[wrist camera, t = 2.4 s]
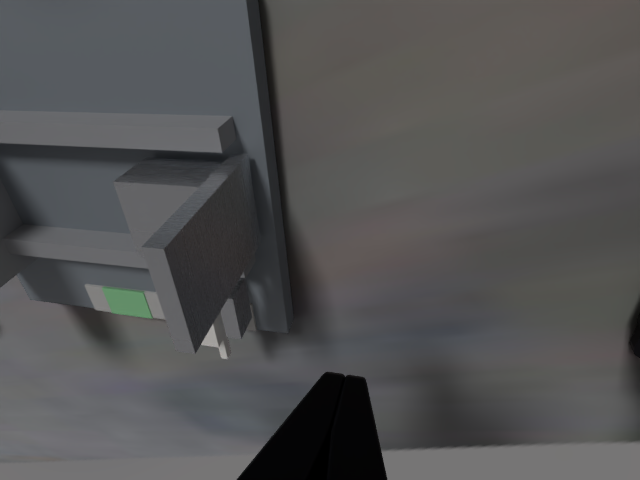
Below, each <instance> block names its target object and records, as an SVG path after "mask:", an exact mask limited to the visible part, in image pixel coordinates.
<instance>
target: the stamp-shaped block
mask: <svg viewBox="0 0 640 480" xmlns="http://www.w3.org/2000/svg"><path fill="white" fill-rule="evenodd" d="M201 345H205V346H212V347H219V351H220V355H221V358H223V359H228V358H229V356H230V354H231V349H230V344H229V340H228V337H226V333H225V329H224V324H223V320H222V316H221V312H220V313H219V314H218V316H217V318H216V320H215V321H214V323H213V325H212V326H211V328H210V330H209V332H208V333H207V335H206V337H205V338H204V340H203V342H202V343H201Z"/></svg>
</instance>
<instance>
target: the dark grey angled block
mask: <svg viewBox="0 0 640 480" xmlns="http://www.w3.org/2000/svg"><path fill="white" fill-rule="evenodd" d="M113 183H114V186H115V189H116V192H117V195H118V198H119V201H120V204H121V207H122V210H123V213H124V215H125V218H126V221H127V224H128V227H129V230H130V233H131V236H132V239H133V242H134V245H135V247H136V250H137V253H138V256H142V257H145V260H146V263H147V266H148V269H149V272H150V275H151V278H152V281H153V284H154V287H155V290H156V293H157V296H158V299H159V302H160V305H161V308H162V311H163V314H164V317H165V320H166V323H167V326H168V329H169V332H170V335H171V338H172V341H173V344H174V347H175V350H176V351H179V352H186V353H193V354H196V352H197V350H198V349H199V347H200V345H201V343H202V342H203V340H204V338H205V337H206V335H207V333H208V332H209V330H210V328H211V326H212V325H213V323H214V321H215V320H216V318H217V316H218V314H219V313H220V312H221V316H222V320H223V324H224V329H225V333H226V337H228V338H236V339H242V337H243V335H244V333H245V331H246V329H247V327H248V325H249V323H250V321H251V319H252V313H251V308H250V302H249V297H248V291H247V286H246V280H245V278H240V277H241V275H242V274H243V272H244V270H245V269H246V267H247V265H248V263H249V262H250V260H251V258H252V257H253V255H254V253H255V252H256V250H257V248H258V246H259V245H260V243H261V236H260V229H259V223H258V216H257V209H256V202H255V196H254V189H253V182H252V176H251V169H250V162H249V155H248V154H236V153H232V154H231V155H230V156H229V157H228V158H227V159H226V160H225V161H214V160H193V159H172V158H151V157H146V158H144V159H143V160H142V161H140V162H139V163H137V164H136V165H135V166H133V167H132V168H131V169H129V170H128V171H127V172H125V173H124V174H123V175H121V176H120V177H119V178H117V179H116V180H115V181H113Z"/></svg>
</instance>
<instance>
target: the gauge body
mask: <svg viewBox="0 0 640 480" xmlns="http://www.w3.org/2000/svg"><path fill="white" fill-rule="evenodd" d="M232 153H236V154H248V155H249V162H250V169H251V176H252V182H253V189H254V196H255V202H256V209H257V216H258V223H259V229H260V236H261V243H260V245H259V246H258V248H257V250H256V252H255V253H254V255H253V257H252V258H251V260H250V262H249V263H248V265H247V267H246V269H245V270H244V272H243V274H242V275H241V277H240V278H245V280H246V286H247V291H248V297H249V302H250V308H251V313H252V319H251V321H250V323H249V325H248V327H247V329H246V330H250V331H256V330H265V331H272V332H280V333H287V334H288V332H289V330H290V327H291V324H292V322H293V319H294V315H293V306H292V297H291V288H290V280H289V271H288V262H287V253H286V244H285V235H284V226H283V217H282V208H281V199H280V191H279V182H278V173H277V164H276V155H275V146H274V137H273V128H272V119H271V110H270V102H269V93H268V84H267V75H266V66H265V57H264V48H263V39H262V30H261V22H260V13H259V4H258V0H0V287H2V286H3V285H4V284H5V283H7V282H8V281H9V280H10V279H12V278H13V277H14V276H15V275H17V277H18V278H19V280H20V282H21V284H22V286H23V287H24V289H25V291H26V293H27V295H28V297H29V298H30V300H36V301H44V302H51V303H59V304H67V305H74V306H82V307H90V308H95V310H98V311H106V312H112V313H114V314H122V315H129V316H137V317H144V318H159V319H165V317H164V314H163V311H162V308H161V305H160V302H159V299H158V296H157V293H156V290H155V287H154V284H153V281H152V278H151V275H150V272H149V269H148V266H147V263H146V260H145V257H142V256H138V253H137V250H136V247H135V245H134V242H133V239H132V236H131V233H130V230H129V227H128V224H127V221H126V218H125V215H124V213H123V210H122V207H121V204H120V201H119V198H118V195H117V192H116V189H115V186H114V183H113V181H115V180H116V179H117V178H119V177H120V176H121V175H123V174H124V173H125V172H127V171H128V170H129V169H131V168H132V167H133V166H135V165H136V164H137V163H139V162H140V161H142V160H143V159H144V158H146V157H151V158H172V159H193V160H214V161H225V160H226V159H227V158H228V157H229V156H230V155H231V154H232Z"/></svg>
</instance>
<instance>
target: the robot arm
mask: <svg viewBox="0 0 640 480" xmlns="http://www.w3.org/2000/svg"><path fill="white" fill-rule="evenodd" d="M637 323H638V326H637V328H636V330H635V332H634V334H633V336H632V338H631V340H630V345H631V347H632V349H633V352H634V354H635V355H636V356H638V357H639V358H640V314H639V316H638V318H637ZM237 480H387V477H386V471H385V467H384V462H383V458H382V453H381V448H380V443H379V439H378V434H377V429H376V425H375V420H374V415H373V411H372V406H371V401H370V397H369V392H368V387H367V383H366V379H365V378H364V377H360V376H353V375H347V376H346V377H345V376H344V375H343V374H340V373H334V372H326V373H324V374H323V375H322V376H321V377H320V379H319V380H318V381H317V382H316V384H315V385H314V386H313V387H312V388H311V390H310V391H309V392H308V393H307V395H306V396H305V397H304V398H303V399H302V401H301V402H300V403H299V404H298V405H297V407H296V408H295V409H294V410H293V412H292V413H291V414H290V415H289V416H288V418H287V419H286V420H285V421H284V423H283V424H282V425H281V426H280V427H279V429H278V430H277V431H276V432H275V433H274V435H273V436H272V437H271V438H270V440H269V441H268V442H267V443H266V444H265V446H264V447H263V448H262V449H261V451H260V452H259V453H258V454H257V455H256V457H255V458H254V459H253V461H252V462H251V463H250V464H249V465H248V466H247V468H246V469H245V470H244V471H243V472H242V474H241V475H240V476H239V478H238V479H237Z"/></svg>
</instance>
